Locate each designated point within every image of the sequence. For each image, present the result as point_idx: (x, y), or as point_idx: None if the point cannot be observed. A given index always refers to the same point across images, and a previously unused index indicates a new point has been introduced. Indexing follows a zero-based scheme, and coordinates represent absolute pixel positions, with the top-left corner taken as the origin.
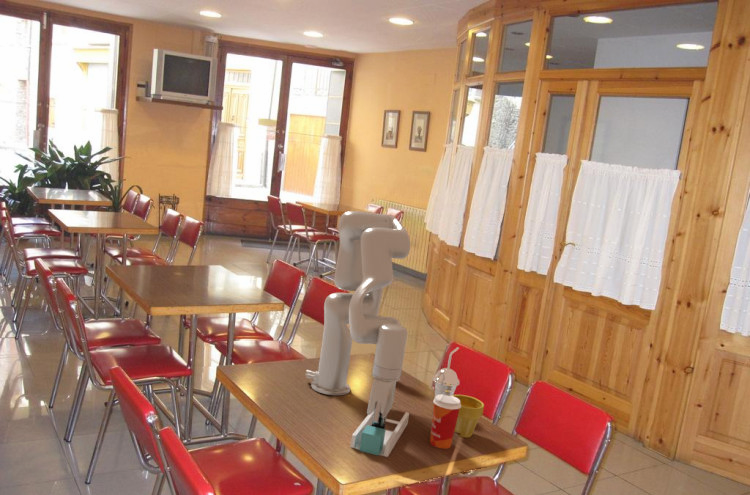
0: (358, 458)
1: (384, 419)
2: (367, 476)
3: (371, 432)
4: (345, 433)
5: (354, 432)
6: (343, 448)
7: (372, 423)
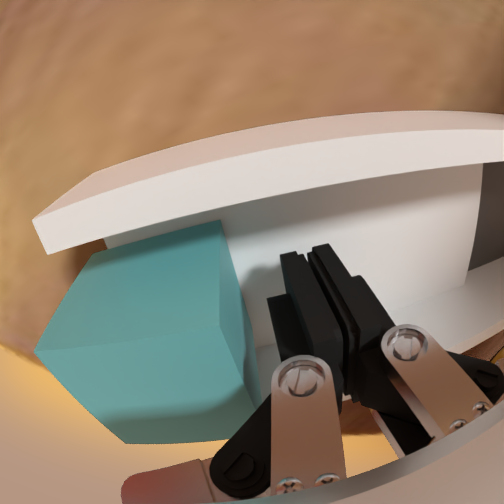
0: (75, 256)
1: (380, 425)
2: (20, 345)
3: (109, 401)
4: (337, 8)
5: (89, 201)
6: (100, 116)
7: (311, 343)
